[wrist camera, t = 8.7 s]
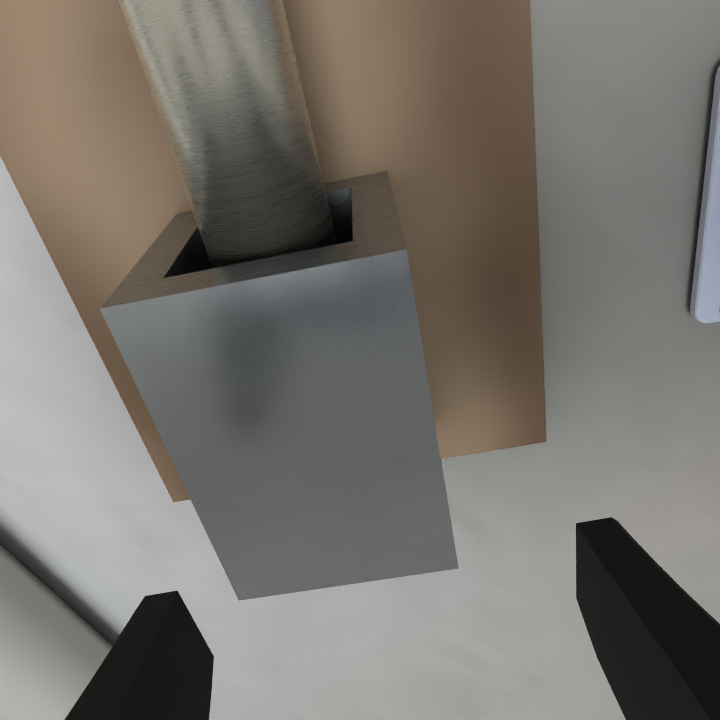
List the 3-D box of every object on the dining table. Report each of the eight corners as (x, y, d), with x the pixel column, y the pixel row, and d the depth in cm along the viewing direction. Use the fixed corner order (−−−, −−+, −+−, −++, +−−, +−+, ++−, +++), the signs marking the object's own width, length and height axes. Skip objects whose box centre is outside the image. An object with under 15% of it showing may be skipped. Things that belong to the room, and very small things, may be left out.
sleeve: (387, 170, 16) (406, 249, 11) (430, 427, 21) (458, 568, 15) (176, 213, 16) (99, 308, 11) (264, 455, 21) (239, 600, 16)
